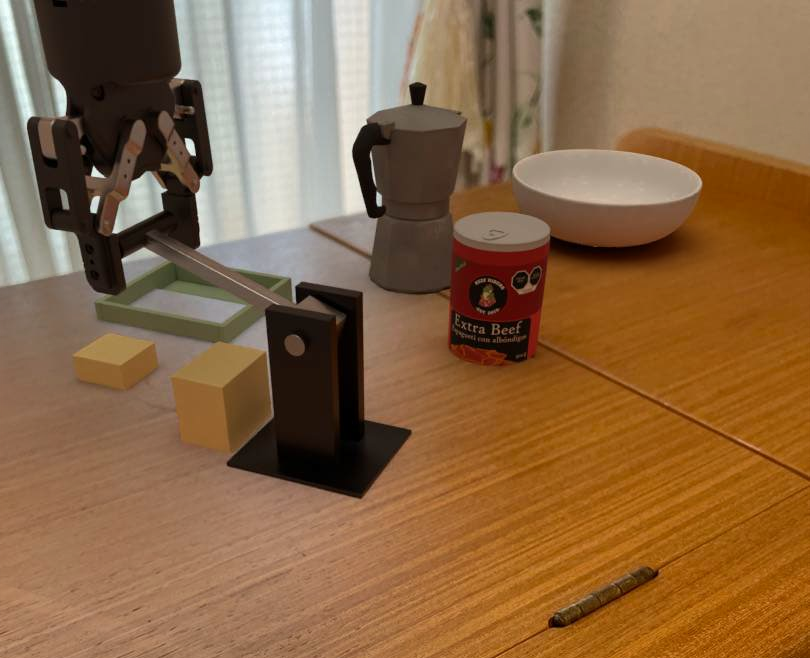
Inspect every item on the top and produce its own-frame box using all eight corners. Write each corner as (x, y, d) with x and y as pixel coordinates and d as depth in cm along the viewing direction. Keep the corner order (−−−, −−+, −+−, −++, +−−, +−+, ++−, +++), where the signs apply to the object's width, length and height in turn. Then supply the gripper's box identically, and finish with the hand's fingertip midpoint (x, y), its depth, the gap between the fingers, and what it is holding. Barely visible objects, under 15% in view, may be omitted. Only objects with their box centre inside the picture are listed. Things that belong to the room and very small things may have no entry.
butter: (182, 452, 62) (170, 376, 58) (226, 413, 66) (217, 340, 63) (231, 464, 61) (222, 387, 57) (273, 424, 65) (266, 350, 62)
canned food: (436, 367, 73) (442, 236, 66) (460, 330, 79) (467, 206, 73) (526, 381, 71) (541, 248, 65) (543, 342, 78) (558, 216, 71)
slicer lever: (102, 260, 55) (105, 226, 53) (157, 232, 59) (161, 199, 58) (309, 372, 54) (319, 340, 52) (349, 334, 58) (359, 304, 57)
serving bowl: (472, 239, 99) (476, 175, 95) (562, 197, 112) (569, 139, 108) (641, 283, 89) (654, 214, 85) (717, 231, 102) (732, 170, 98)
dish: (99, 328, 78) (93, 301, 77) (175, 281, 87) (172, 257, 86) (227, 354, 75) (223, 326, 73) (293, 303, 84) (291, 277, 82)
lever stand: (228, 476, 60) (206, 313, 52) (289, 416, 66) (278, 264, 59) (361, 510, 57) (358, 342, 50) (411, 443, 63) (415, 287, 56)
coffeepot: (416, 250, 96) (420, 66, 85) (487, 270, 91) (502, 79, 80) (321, 290, 86) (312, 89, 75) (395, 315, 82) (397, 105, 71)
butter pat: (80, 389, 69) (71, 354, 67) (114, 366, 72) (108, 332, 71) (127, 400, 68) (120, 365, 66) (160, 376, 71) (154, 342, 69)
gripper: (123, -33, 54) (162, 229, 64) (-50, -12, 44) (30, 298, 54) (228, -27, 52) (252, 244, 62) (73, -2, 41) (132, 319, 51)
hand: (149, 269), depth 58 cm, fingers open, 8 cm apart
